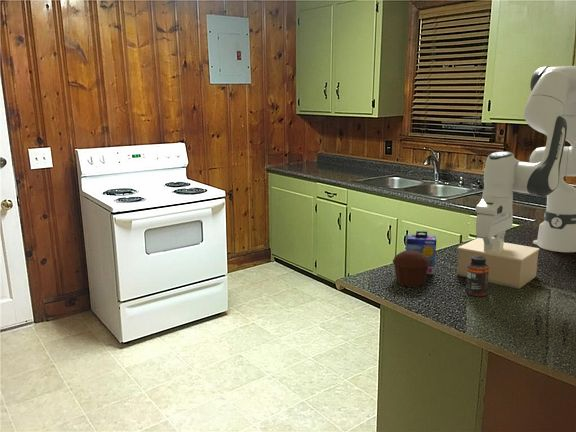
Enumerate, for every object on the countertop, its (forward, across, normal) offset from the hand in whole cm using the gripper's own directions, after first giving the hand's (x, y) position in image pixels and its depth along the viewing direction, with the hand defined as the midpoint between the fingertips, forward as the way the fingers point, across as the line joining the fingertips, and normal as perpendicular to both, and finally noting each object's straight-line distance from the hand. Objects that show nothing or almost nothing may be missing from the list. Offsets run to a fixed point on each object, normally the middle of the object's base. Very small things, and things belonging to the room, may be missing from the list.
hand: (493, 246), depth 164 cm
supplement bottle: (+11, +16, +2) cm, 19 cm away
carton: (+11, -4, 0) cm, 12 cm away
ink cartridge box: (+11, +8, -21) cm, 25 cm away
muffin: (+11, +20, -18) cm, 29 cm away
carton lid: (+2, -4, 0) cm, 4 cm away
